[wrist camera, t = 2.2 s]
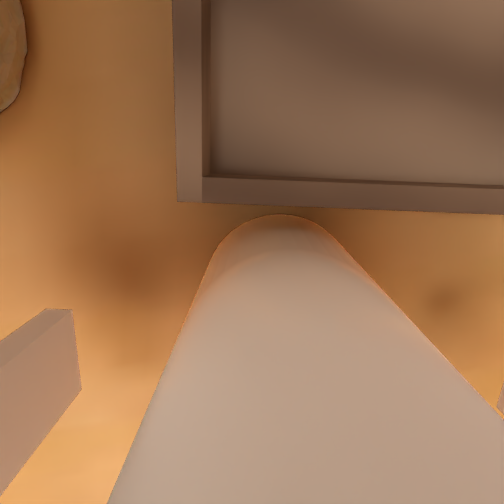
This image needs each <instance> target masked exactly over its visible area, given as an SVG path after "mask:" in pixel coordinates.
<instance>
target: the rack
mask: <svg viewBox="0 0 504 504" xmlns="http://www.w3.org/2000/svg"><path fill="white" fill-rule="evenodd" d="M172 20H173V58H174V97H175V135H176V174H177V202H198V203H223V204H248V205H273V206H298V207H323V208H348V209H373V210H398V211H423V212H447V213H472V214H497V215H504V0H172Z"/></svg>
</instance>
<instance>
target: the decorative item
mask: <svg viewBox="0 0 504 504" xmlns="http://www.w3.org/2000/svg"><path fill="white" fill-rule="evenodd" d="M27 52H28V50H27V40H26V29H25V20H24V15H23V11H22V6H21V2H20V0H0V112H1V111H2V110H3V109H5V108H7V107H8V106H9V105H10V104H11V103H12V102H13V101H14V100H15V98H16V97H17V95H18V93H19V91H20V84H21V76H22V70H23V67H24V58H25V56H26V54H27Z"/></svg>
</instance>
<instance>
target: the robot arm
mask: <svg viewBox="0 0 504 504" xmlns="http://www.w3.org/2000/svg"><path fill="white" fill-rule="evenodd" d="M81 389H82V388H81V379H80V371H79V363H78V354H77V346H76V338H75V329H74V321H73V313H72V310H66V309H45V310H44V311H42V312H41V313H39V314H38V315H37V316H35V317H34V318H32V319H31V320H30V321H28V322H27V323H25V324H24V325H23V326H21V327H20V328H18V329H17V330H16V331H14V332H13V333H11V334H10V335H9V336H7V337H6V338H4V339H3V340H1V341H0V496H1V495H2V493H3V492H4V491H5V489H6V488H7V487H8V485H9V484H10V483H11V482H12V480H13V479H14V478H15V476H16V475H17V474H18V472H19V471H20V470H21V468H22V467H23V466H24V464H25V463H26V462H27V460H28V459H29V458H30V457H31V455H32V454H33V453H34V451H35V450H36V449H37V447H38V446H39V445H40V443H41V442H42V441H43V439H44V438H45V437H46V435H47V434H48V433H49V432H50V430H51V429H52V428H53V426H54V425H55V424H56V422H57V421H58V420H59V418H60V417H61V416H62V414H63V413H64V412H65V410H66V409H67V408H68V407H69V405H70V404H71V403H72V401H73V400H74V399H75V397H76V396H77V395H78V393H79V392H80V391H81ZM497 408H498V409H499V410H500V411H501V412H502V413H503V414H504V383H503V386H502V390H501V393H500V397H499V400H498V404H497Z"/></svg>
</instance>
